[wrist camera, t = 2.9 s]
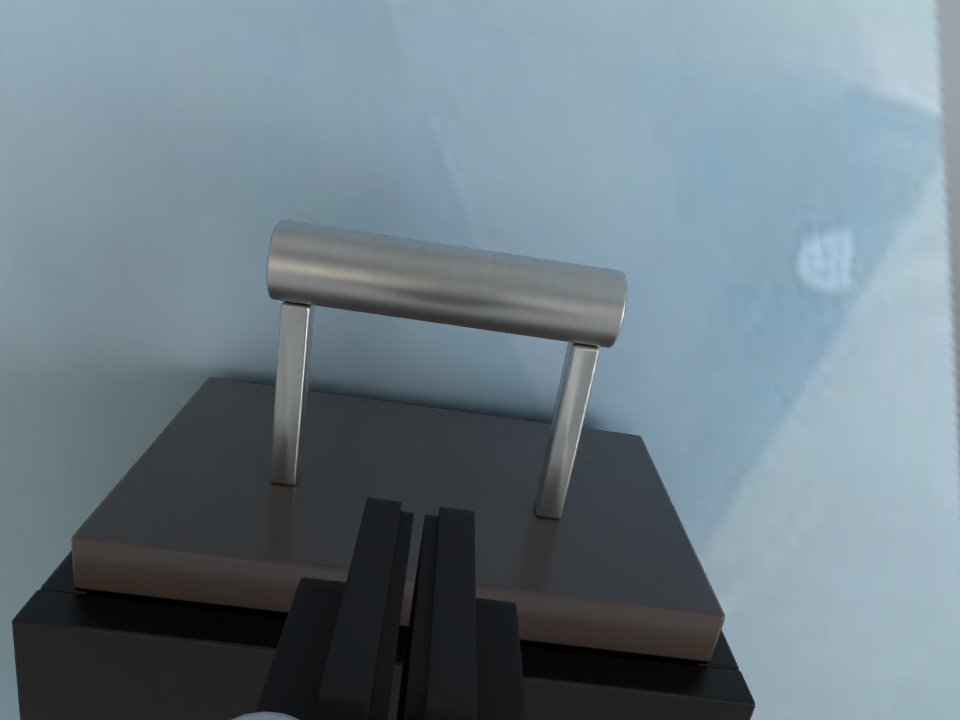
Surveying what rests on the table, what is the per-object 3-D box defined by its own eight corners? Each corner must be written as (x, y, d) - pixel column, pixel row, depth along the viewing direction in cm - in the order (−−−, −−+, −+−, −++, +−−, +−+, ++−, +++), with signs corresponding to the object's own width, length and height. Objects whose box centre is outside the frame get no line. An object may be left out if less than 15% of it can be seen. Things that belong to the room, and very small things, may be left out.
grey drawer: (214, 168, 19) (54, 227, 12) (691, 242, 20) (820, 340, 13) (198, 755, 26) (91, 1020, 19) (549, 791, 27) (578, 1059, 20)
